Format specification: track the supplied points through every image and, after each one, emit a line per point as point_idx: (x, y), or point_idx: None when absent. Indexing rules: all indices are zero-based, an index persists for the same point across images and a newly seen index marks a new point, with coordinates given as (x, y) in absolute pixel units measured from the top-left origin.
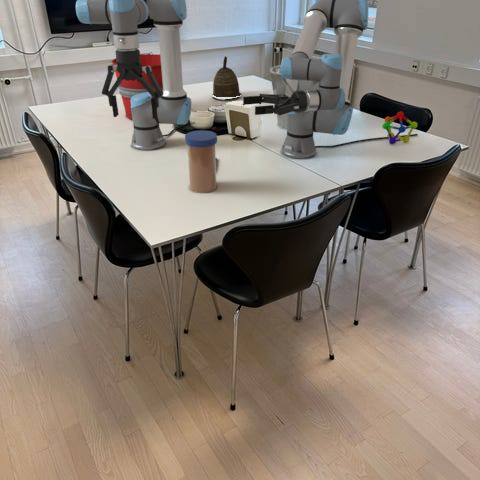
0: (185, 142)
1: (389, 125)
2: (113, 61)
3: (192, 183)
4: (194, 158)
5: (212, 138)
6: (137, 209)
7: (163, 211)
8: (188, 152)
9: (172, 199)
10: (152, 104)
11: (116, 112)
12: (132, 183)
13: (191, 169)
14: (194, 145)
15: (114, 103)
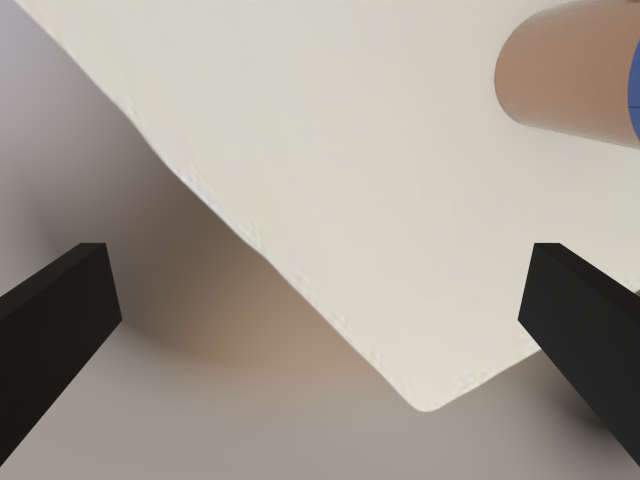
0: (630, 109)
1: None
2: None
3: (523, 117)
4: (618, 144)
5: None
6: (336, 274)
7: (419, 276)
8: (600, 109)
9: (436, 194)
10: (635, 440)
11: (94, 308)
12: (245, 73)
13: (557, 122)
14: None
15: (23, 410)
